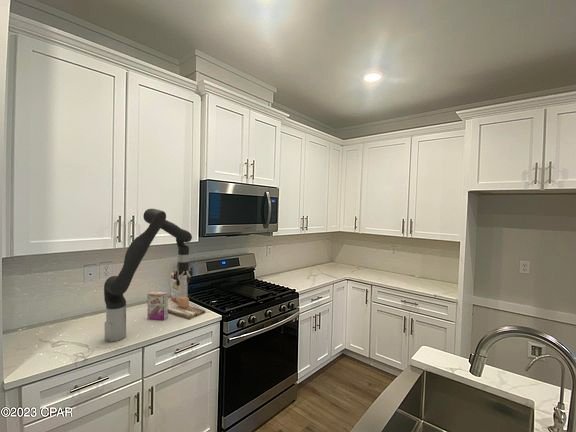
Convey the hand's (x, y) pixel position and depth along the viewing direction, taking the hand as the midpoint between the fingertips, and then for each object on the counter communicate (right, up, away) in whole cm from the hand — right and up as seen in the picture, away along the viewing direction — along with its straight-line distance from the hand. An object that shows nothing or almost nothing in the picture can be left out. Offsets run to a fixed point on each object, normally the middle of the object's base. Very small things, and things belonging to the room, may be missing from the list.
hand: (183, 284), depth 198 cm
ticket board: (+4, -18, -6) cm, 19 cm away
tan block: (0, -16, +1) cm, 16 cm away
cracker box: (-8, -17, +15) cm, 24 cm away
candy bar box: (-10, -18, -17) cm, 27 cm away
